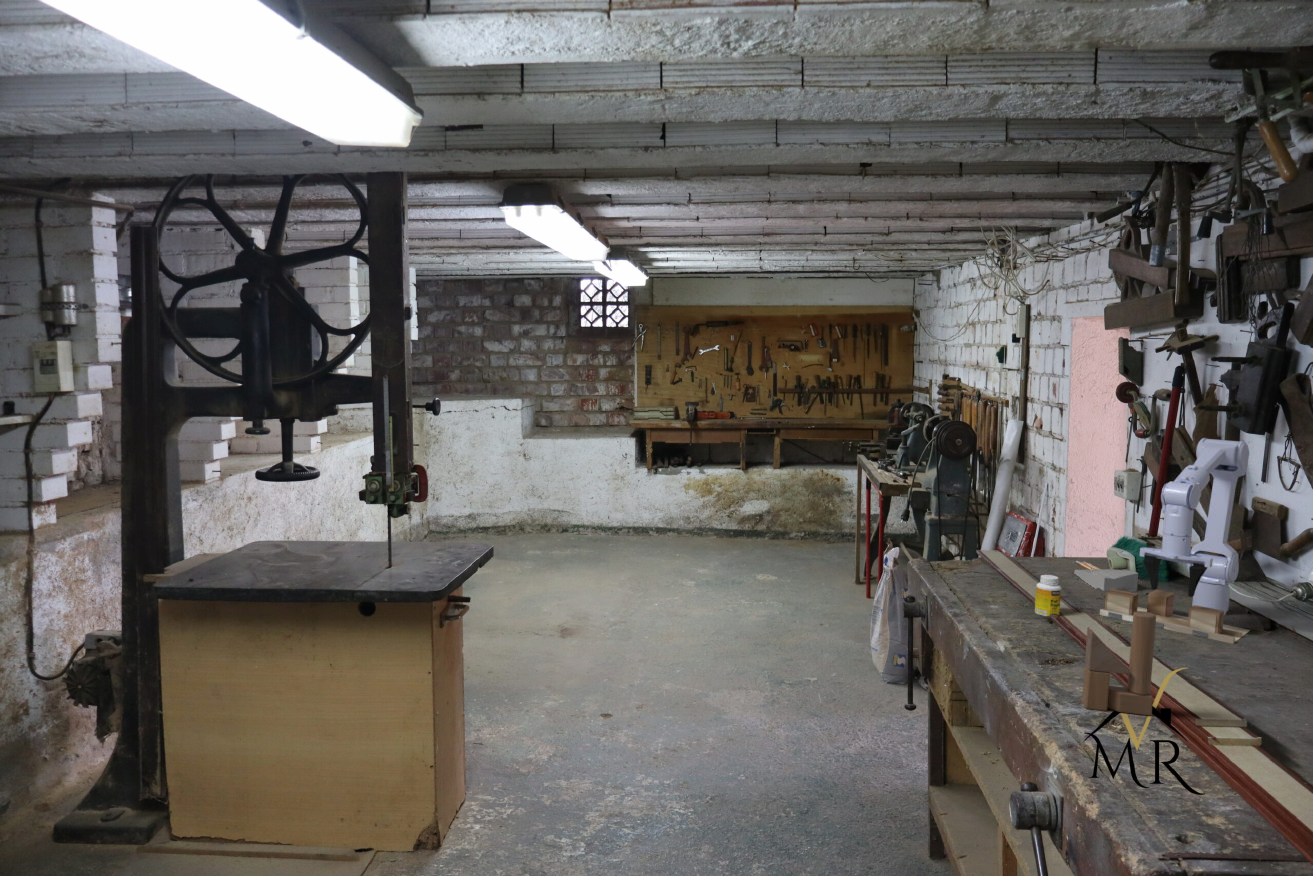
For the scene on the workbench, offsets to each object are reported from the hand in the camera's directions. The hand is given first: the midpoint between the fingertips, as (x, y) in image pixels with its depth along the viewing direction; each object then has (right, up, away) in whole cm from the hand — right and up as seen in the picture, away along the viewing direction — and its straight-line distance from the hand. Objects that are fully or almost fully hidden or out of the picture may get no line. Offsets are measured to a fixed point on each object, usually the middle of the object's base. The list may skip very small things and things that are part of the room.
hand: (1172, 592), depth 206 cm
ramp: (+7, -6, +46) cm, 47 cm away
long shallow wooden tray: (+4, -9, +6) cm, 12 cm away
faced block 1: (-6, -7, +11) cm, 14 cm away
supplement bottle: (-24, -8, +11) cm, 28 cm away
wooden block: (-36, -13, -45) cm, 60 cm away
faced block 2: (+6, -9, -2) cm, 11 cm away
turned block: (+3, -8, +11) cm, 14 cm away
